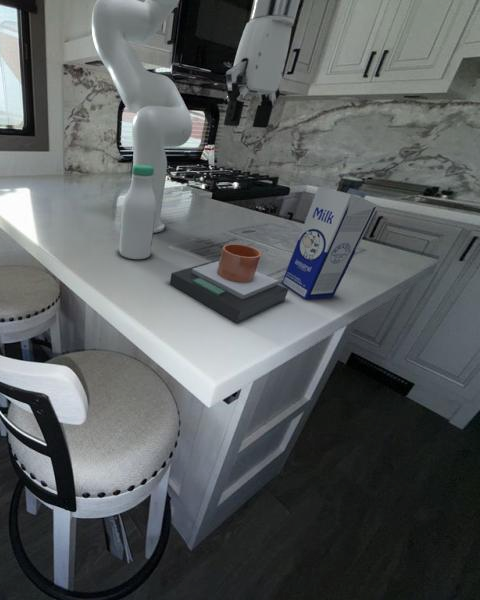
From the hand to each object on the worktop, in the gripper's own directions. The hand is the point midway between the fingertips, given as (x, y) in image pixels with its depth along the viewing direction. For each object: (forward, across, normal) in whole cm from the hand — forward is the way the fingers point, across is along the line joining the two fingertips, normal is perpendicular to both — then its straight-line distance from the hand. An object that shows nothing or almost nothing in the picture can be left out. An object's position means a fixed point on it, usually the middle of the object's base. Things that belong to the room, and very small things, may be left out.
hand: (245, 126), depth 63 cm
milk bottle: (+28, +18, -10) cm, 35 cm away
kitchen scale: (+28, +14, +14) cm, 35 cm away
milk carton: (+28, -2, +22) cm, 36 cm away
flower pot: (+25, +12, +14) cm, 31 cm away
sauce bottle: (+28, -20, +15) cm, 38 cm away
